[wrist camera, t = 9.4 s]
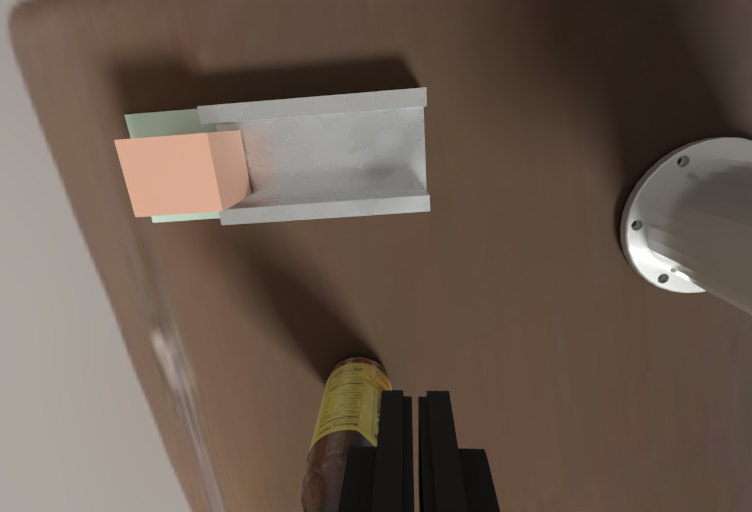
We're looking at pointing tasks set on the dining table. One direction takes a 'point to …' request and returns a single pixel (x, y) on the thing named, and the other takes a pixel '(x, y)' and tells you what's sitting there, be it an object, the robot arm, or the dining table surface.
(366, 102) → the chute
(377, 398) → the sauce bottle
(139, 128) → the pad
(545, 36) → the dining table surface
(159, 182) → the block
